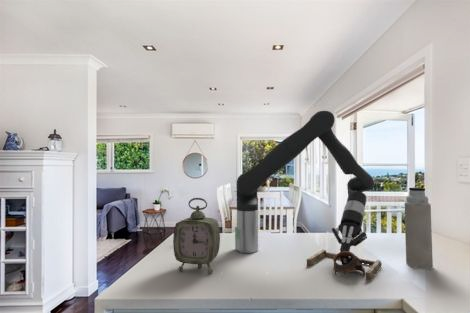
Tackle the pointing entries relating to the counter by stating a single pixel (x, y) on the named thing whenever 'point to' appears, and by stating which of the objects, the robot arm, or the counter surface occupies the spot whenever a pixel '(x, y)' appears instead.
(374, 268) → the walnut mug dock
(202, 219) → the tabletop clock
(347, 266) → the pottery mug
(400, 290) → the counter surface
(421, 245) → the thermos bottle
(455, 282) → the counter surface
